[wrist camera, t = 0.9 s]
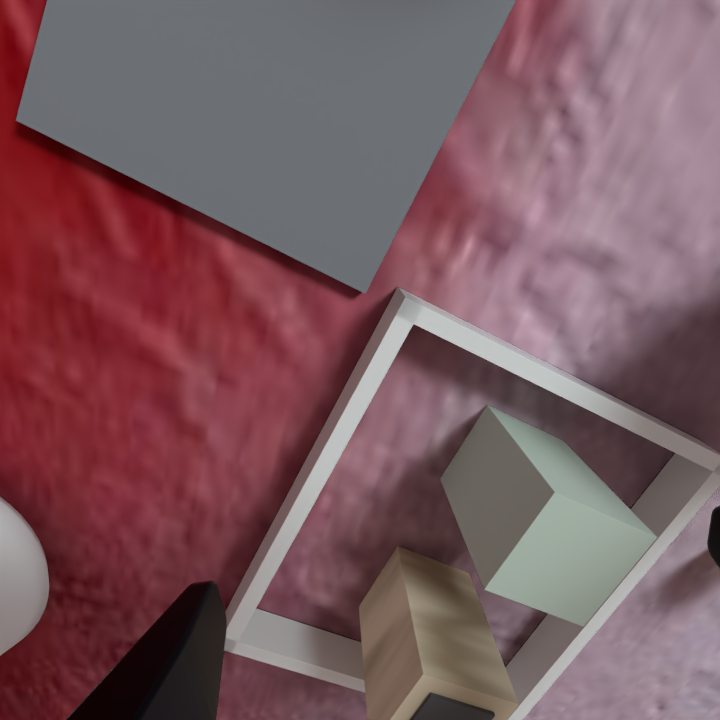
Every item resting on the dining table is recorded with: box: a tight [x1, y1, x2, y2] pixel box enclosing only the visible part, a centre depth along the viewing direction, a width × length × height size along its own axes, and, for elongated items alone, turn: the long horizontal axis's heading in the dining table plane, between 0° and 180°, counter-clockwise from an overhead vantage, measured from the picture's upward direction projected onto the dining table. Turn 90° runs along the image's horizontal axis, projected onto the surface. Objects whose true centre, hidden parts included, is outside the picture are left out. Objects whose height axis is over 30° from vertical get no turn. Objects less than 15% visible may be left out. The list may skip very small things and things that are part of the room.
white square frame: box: [224, 287, 720, 720], centre depth 23 cm, size 18×20×2 cm
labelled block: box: [359, 546, 519, 720], centre depth 22 cm, size 4×5×7 cm
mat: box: [16, 0, 516, 294], centre depth 17 cm, size 14×12×1 cm
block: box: [440, 405, 657, 627], centre depth 20 cm, size 4×4×7 cm
